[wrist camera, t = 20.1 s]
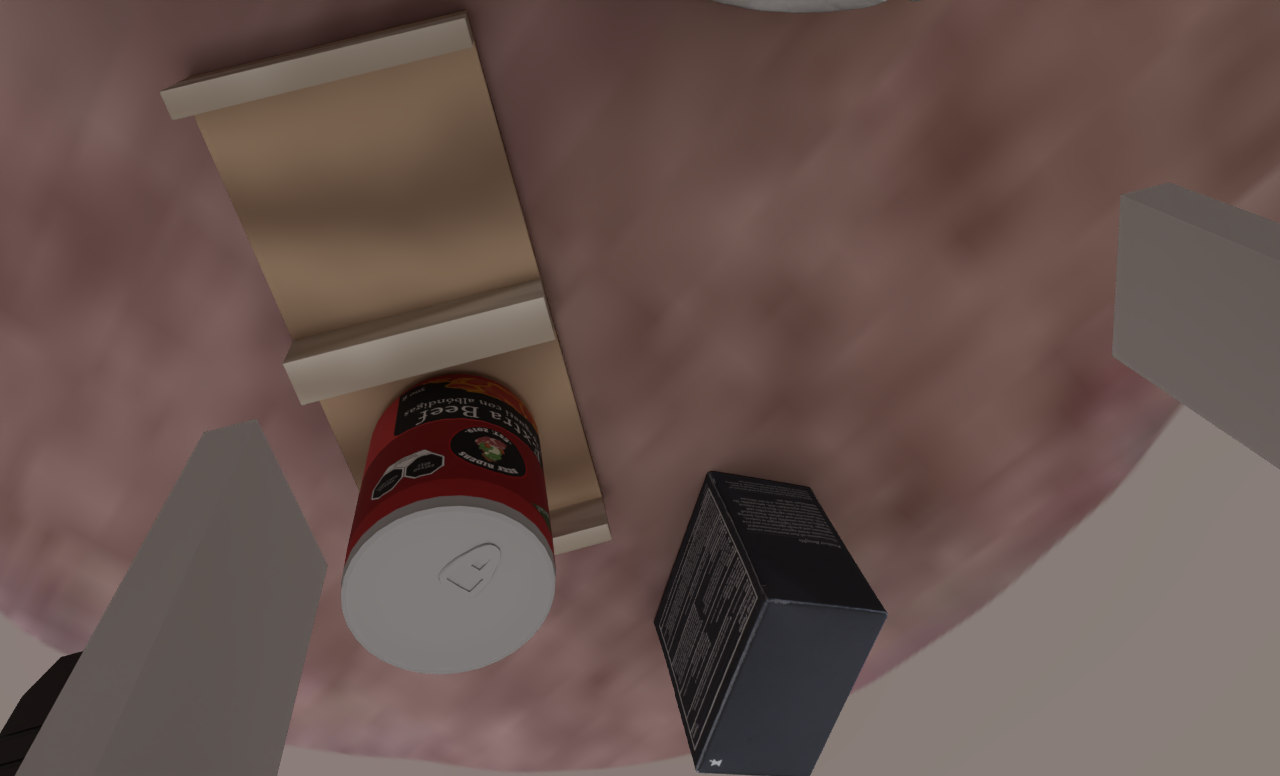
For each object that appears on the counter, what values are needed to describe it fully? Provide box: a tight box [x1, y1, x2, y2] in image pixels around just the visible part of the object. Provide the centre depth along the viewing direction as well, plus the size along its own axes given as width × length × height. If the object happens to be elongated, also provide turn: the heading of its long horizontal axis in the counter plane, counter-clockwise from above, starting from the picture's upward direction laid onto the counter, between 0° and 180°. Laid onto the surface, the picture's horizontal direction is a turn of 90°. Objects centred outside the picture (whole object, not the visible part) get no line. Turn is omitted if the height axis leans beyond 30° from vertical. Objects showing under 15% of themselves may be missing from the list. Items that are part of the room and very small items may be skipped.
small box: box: [654, 472, 888, 776], centre depth 45 cm, size 11×6×10 cm, turn 164°
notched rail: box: [160, 10, 612, 555], centre depth 39 cm, size 24×11×4 cm, turn 12°
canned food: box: [341, 374, 556, 674], centre depth 37 cm, size 8×8×11 cm
